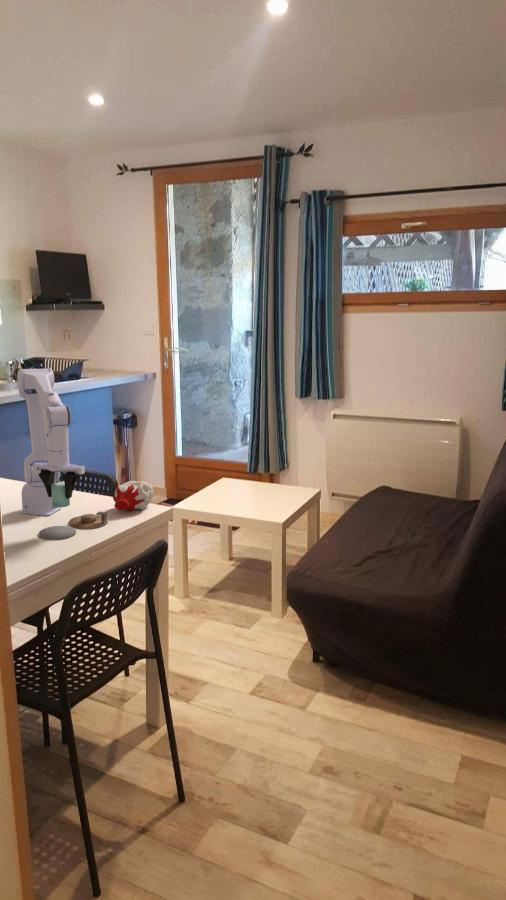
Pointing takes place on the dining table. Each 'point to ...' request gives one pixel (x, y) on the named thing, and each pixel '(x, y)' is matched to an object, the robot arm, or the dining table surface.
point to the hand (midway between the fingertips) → (60, 497)
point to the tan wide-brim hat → (89, 521)
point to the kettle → (59, 495)
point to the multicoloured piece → (133, 495)
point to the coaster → (57, 532)
